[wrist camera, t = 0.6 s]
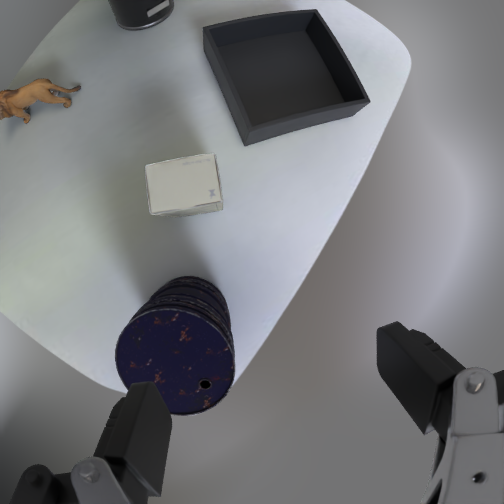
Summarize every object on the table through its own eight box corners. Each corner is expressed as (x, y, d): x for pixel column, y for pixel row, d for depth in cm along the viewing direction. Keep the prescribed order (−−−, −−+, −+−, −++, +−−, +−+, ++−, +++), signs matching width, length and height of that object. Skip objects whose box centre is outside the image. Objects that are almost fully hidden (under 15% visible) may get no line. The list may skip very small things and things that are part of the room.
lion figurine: (9, 141, 30) (-26, 127, 21) (9, 113, 30) (-22, 96, 21) (83, 102, 31) (55, 75, 22) (82, 74, 31) (57, 45, 22)
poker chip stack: (139, 323, 35) (97, 377, 20) (175, 259, 35) (145, 281, 20) (204, 362, 36) (199, 433, 21) (244, 301, 36) (261, 349, 21)
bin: (203, 50, 33) (202, 27, 27) (306, 29, 34) (316, 9, 28) (244, 146, 35) (249, 132, 29) (352, 116, 36) (370, 101, 30)
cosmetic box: (218, 176, 35) (218, 149, 22) (223, 211, 35) (226, 203, 23) (167, 184, 34) (143, 162, 22) (172, 220, 34) (149, 215, 22)
